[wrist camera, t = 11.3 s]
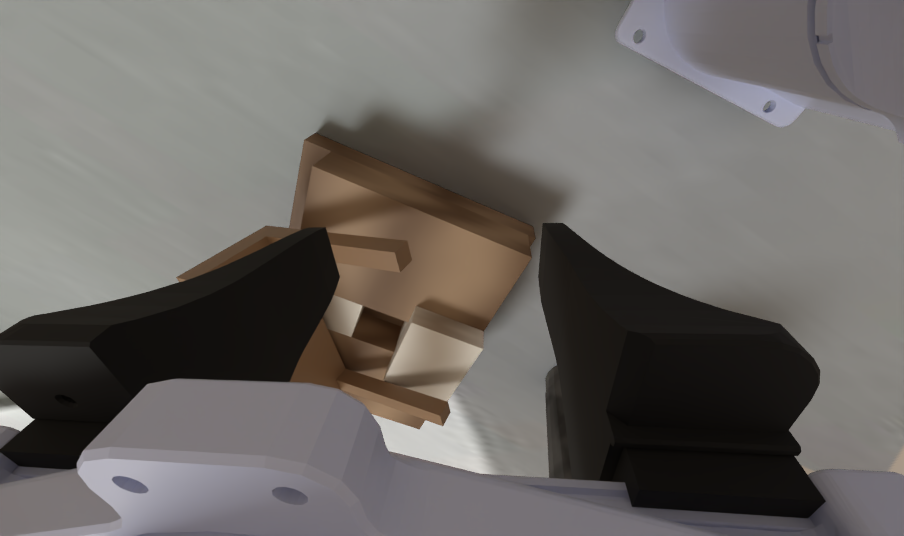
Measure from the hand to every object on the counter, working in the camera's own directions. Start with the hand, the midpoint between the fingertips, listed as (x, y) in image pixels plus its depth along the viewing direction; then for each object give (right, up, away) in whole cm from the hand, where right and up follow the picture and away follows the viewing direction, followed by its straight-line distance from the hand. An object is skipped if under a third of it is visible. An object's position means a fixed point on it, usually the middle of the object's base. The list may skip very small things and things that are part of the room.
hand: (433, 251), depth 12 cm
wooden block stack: (-4, -2, +14) cm, 15 cm away
